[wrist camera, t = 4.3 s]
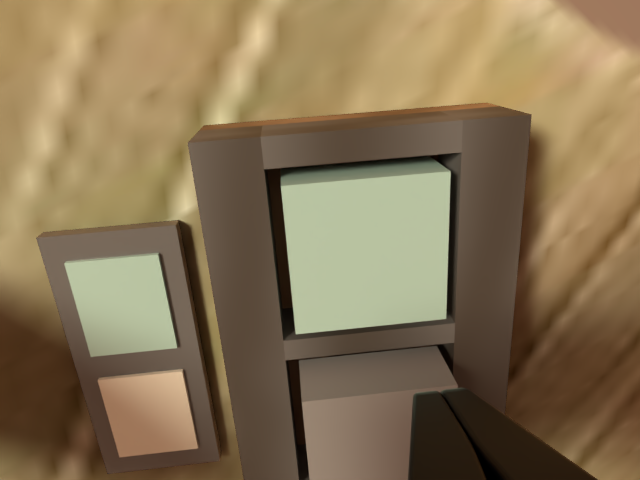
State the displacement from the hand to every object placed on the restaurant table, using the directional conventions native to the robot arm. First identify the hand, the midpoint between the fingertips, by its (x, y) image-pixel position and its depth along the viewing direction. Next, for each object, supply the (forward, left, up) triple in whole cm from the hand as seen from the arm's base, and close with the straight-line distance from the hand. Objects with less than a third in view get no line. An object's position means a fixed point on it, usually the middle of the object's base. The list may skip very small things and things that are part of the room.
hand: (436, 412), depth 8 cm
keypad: (0, +6, -10) cm, 11 cm away
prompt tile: (+8, +5, -10) cm, 13 cm away
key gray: (0, +6, -7) cm, 9 cm away
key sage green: (0, 0, -8) cm, 8 cm away
